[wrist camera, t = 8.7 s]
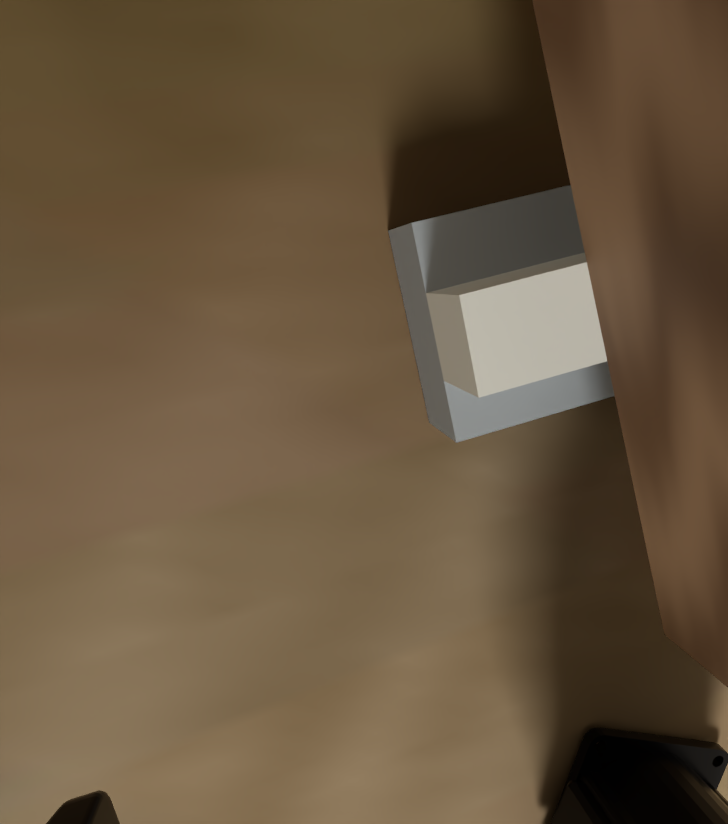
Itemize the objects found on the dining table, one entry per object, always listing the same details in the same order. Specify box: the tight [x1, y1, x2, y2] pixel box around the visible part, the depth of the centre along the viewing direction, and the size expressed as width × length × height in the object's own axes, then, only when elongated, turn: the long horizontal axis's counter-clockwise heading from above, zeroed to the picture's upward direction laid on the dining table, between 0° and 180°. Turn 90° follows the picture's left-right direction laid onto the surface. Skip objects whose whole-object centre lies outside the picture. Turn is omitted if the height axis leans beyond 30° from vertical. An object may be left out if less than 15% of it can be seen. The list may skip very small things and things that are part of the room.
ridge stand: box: [388, 185, 615, 443], centre depth 17 cm, size 6×10×5 cm, turn 104°
